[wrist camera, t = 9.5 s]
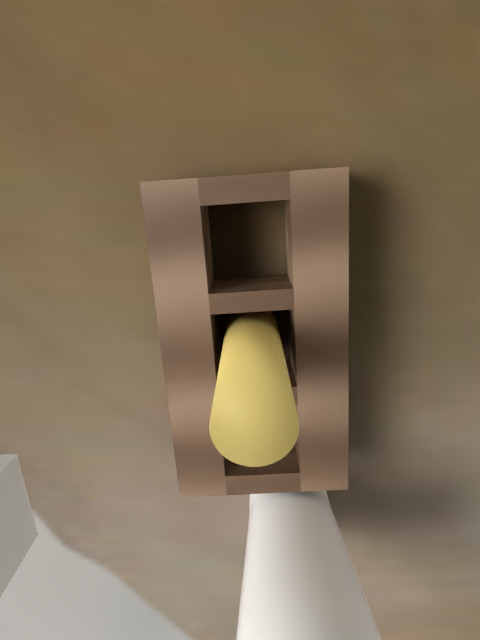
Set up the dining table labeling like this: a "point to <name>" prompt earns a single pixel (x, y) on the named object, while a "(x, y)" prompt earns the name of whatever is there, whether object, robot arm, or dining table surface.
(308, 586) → the drinking glass
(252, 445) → the peg
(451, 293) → the dining table surface
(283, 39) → the dining table surface
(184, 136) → the dining table surface
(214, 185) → the hole block
